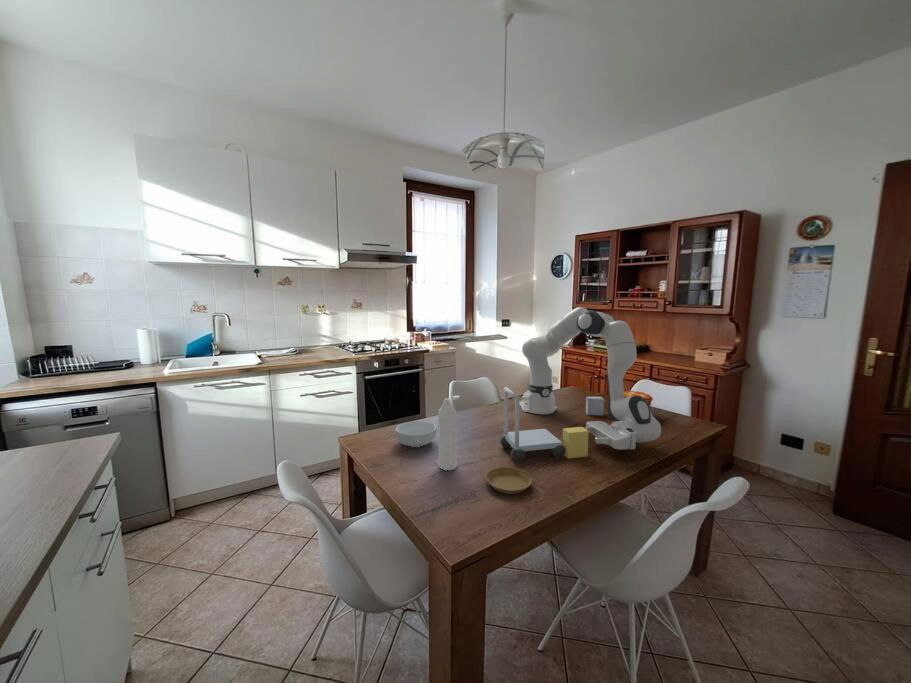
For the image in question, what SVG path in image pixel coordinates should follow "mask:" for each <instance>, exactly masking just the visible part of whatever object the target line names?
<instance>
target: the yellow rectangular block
mask: <svg viewBox="0 0 911 683" xmlns="http://www.w3.org/2000/svg"><path fill="white" fill-rule="evenodd" d="M585 428H586V427H583V426H577V427H566V428H565V427H564V428H562V445H563V446H564V447H565V454H564V455H563V456H564V457H565V458H567V459H576V458H587V457H588V456H589V455H588V453H589V452H588V451H589V434H590V433H589V431H588V430H586V429H585Z"/></svg>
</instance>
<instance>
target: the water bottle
mask: <svg viewBox="0 0 911 683" xmlns="http://www.w3.org/2000/svg"><path fill="white" fill-rule="evenodd" d="M452 400H454V401H458V400H461V399H460V395H453V396H452ZM452 400H451V398H450V397H448V398H444V399H443V401H442V402H443V403H442V405H441V407H440V408H439V409H438V413H437V416H438V417H437V419H438V420H437V421H438V422H437V423H438V426H437V427H438V431H437V432H438V434H437V435H438V468H439V467H440V468H441V469H440V468H439V469H440V470H442V469H443V470H442V471H447V470H448V471H452V470H455V469H457V466H458V460H457V459H458V455H457V453H458V446H457V445H458V441H457V437H458V436H457V435H458V434H457V430H458V428H457V417H458V416H457V415H458V414H457V411H456V410H457V409H455V407H454V406H453V404H452Z"/></svg>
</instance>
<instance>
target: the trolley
mask: <svg viewBox="0 0 911 683" xmlns="http://www.w3.org/2000/svg"><path fill="white" fill-rule="evenodd" d="M509 396H511V397H512V398H513V399H514V431H509V428H508V426H509V425H508V424H509ZM520 401H521V396H519V395H518V394H517V393H515V392H514V391H512V390H511V389H510V388H508V387H507V386H504V388H503V435H502V436H501V437H500V440H499V442H500V445H501V446H502V447H503V448H504V449H506V448H508V449H510V448H512V449H511V451H510V456H511V459H513V461H514V462H516V463H520V462H522V461H524V460H525V458H526V452H529V451H531V452H532V451H538V450H549V449H550V453H551V455H553V456H554V457H555V458H558V459H560V458H562V457H564V456H565V455H564V454H565V447H564V446H563V441H562V440H560V439H559V438H557V436H555V435H553V434H552V433H551V432H550V431H549V430H547V429H546V428H538V429H537V428H536V429H528V430H520V410H521V409H520V408H521V407H520Z"/></svg>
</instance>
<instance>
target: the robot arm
mask: <svg viewBox="0 0 911 683" xmlns="http://www.w3.org/2000/svg"><path fill="white" fill-rule="evenodd" d="M580 333H582V334H585V335H589V336H592V337H597V338H598V337H599V338H603V339H604V341H605V345H606V346H605V347H606V350H607V365H606V381H607V382H606V383H607V393H608V402H607V406H606V407H607V410H606V411H607V414H608V416H609V418H610V419H611V421H613V422H611V424H609V423H607V422H604V421H601V420H590V421H587V422H586V424H585V427H584V428H585V429H586V430H588V431H589V433H588V434H592V435H593V436H594V442H595V444H602V445H609V446H610V447H611V448H613V449H615V450H618V451H619V450H623V451H624V450H635V449H636V444H637V443H647V442H648V443H649V442H652V441H654V440H657V439H659V437H660V436H661V433H662V427H661V423H660V422H659V421H658V419H656V418H655V417H654V415H653V414H652V411H651V406H650V407H649V404H648V402H647V401H646V400H645V399H644V398H643V397H641V396H637V395H635V396H631V397H627V398H624V392H625V390H624V376H625V375H626V373H627V371H629V369H630V368H631V367H632V366H633V365H634V364H635V362H636V360H637V358H638V357H637V356H638V354H637V346H636V342H635V339H634V334H633V332H632V330H631V328H630V325H629V324H628V323H627V322H626V321H623V320H617V318H616V317H615V316H613V315H611V314H607V313H604V312H602V311H597V310H596V311H595V310H590V309H589V310H588V309H587V308H586V307H585V306H577V307H575V308H574V309H572V310H570V311H568V312H567V313H565V314H564V315H562V316H561V317H560V318H559V319H558V320H556V321H555V322H553V324H552V325H551V326H550V327H549V330H548V331H547V332H546V333H544V334H543V335H542V336H537V337H532V338H529V339H528V340H526V341H525V342H524V343H523V344H522V350H521V351H522V354H523V356H524V357H525V358H526V359H527V362H528V366H529V383H528V390H526V391H525V392H524V393H523V395H522V396H521V400H520V406H521V407H520V408H521V410H522V412H525V413H530V414H531V413H532V414H537V415H549V414H552V413H555V411H556V410H558V407H557V406H556V399H555V398H556V397H555V393H554V392H553V390H554V389H553V388H554V386H553V370H552V367H551V366H550V365H549V362H548V358H549V357H553V356H554V355H555V354H558V352H559V351H560V350H561V348H562V347H563V346H564V345H566V344H567V343H568V342H569V341H570V340H572V339H573V338H575V337H576V336H577V335H579V334H580Z"/></svg>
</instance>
